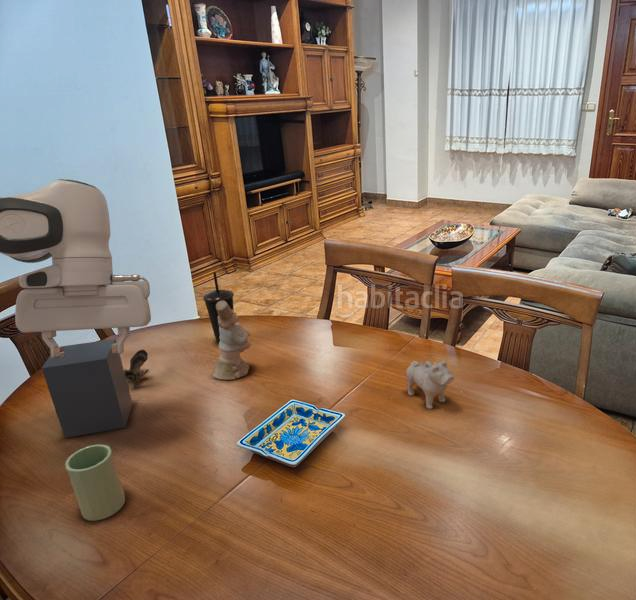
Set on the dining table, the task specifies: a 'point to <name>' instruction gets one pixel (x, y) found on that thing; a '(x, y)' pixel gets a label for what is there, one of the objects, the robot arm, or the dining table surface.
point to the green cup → (95, 482)
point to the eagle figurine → (137, 367)
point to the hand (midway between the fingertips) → (88, 355)
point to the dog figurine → (429, 379)
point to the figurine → (230, 344)
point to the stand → (88, 388)
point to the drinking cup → (211, 302)
